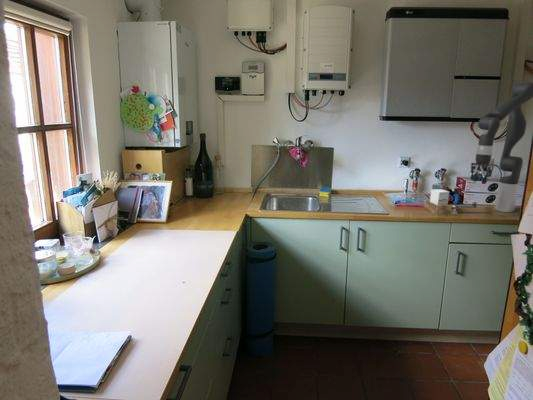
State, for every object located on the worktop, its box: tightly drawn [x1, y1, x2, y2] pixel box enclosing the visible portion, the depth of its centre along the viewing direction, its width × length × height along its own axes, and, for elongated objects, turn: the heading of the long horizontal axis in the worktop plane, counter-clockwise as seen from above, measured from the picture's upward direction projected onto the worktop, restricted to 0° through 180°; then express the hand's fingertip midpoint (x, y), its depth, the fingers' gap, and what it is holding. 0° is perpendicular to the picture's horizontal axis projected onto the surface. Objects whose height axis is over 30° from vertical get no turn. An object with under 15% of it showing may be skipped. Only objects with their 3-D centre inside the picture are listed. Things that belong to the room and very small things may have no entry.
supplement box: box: [429, 188, 450, 205], centre depth 230 cm, size 7×7×13 cm
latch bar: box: [452, 201, 477, 209], centre depth 227 cm, size 15×2×3 cm, turn 97°
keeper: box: [424, 199, 458, 215], centre depth 231 cm, size 14×14×5 cm
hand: (479, 182), depth 219 cm, fingers open, 6 cm apart
